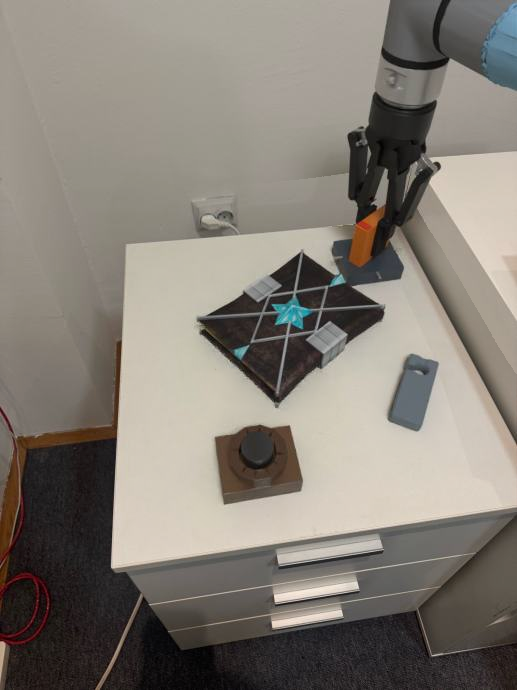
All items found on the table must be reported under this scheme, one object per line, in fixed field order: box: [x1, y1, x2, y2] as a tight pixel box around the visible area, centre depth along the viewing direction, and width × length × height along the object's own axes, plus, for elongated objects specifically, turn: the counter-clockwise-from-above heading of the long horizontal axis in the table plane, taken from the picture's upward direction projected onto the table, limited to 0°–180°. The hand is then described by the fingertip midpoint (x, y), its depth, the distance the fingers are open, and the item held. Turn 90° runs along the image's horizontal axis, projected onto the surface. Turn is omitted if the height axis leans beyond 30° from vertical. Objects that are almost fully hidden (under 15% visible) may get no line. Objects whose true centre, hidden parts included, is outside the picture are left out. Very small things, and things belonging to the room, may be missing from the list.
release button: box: [241, 431, 274, 468], centre depth 53 cm, size 4×4×2 cm
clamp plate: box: [331, 238, 405, 287], centre depth 78 cm, size 11×11×3 cm
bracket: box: [388, 352, 440, 432], centre depth 63 cm, size 4×10×2 cm, turn 156°
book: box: [195, 248, 386, 409], centre depth 69 cm, size 22×17×5 cm
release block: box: [214, 424, 304, 505], centre depth 56 cm, size 9×7×5 cm
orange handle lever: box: [349, 203, 390, 268], centre depth 74 cm, size 7×2×7 cm, turn 134°
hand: (369, 247), depth 76 cm, fingers closed on orange handle lever, 2 cm apart
